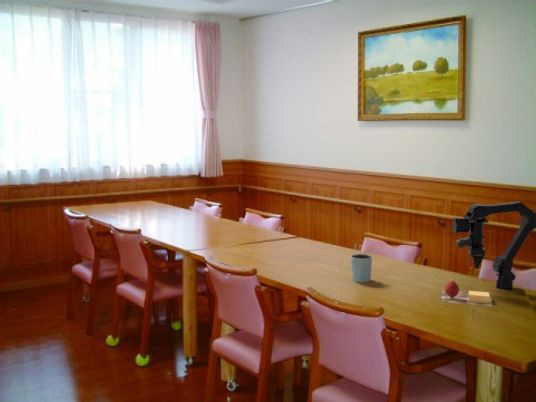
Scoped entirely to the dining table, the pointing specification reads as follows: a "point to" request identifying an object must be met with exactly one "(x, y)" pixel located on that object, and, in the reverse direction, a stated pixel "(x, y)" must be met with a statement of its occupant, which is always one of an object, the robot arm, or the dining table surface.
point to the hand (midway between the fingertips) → (475, 266)
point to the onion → (452, 289)
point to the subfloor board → (462, 299)
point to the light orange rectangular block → (479, 297)
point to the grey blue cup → (361, 267)
